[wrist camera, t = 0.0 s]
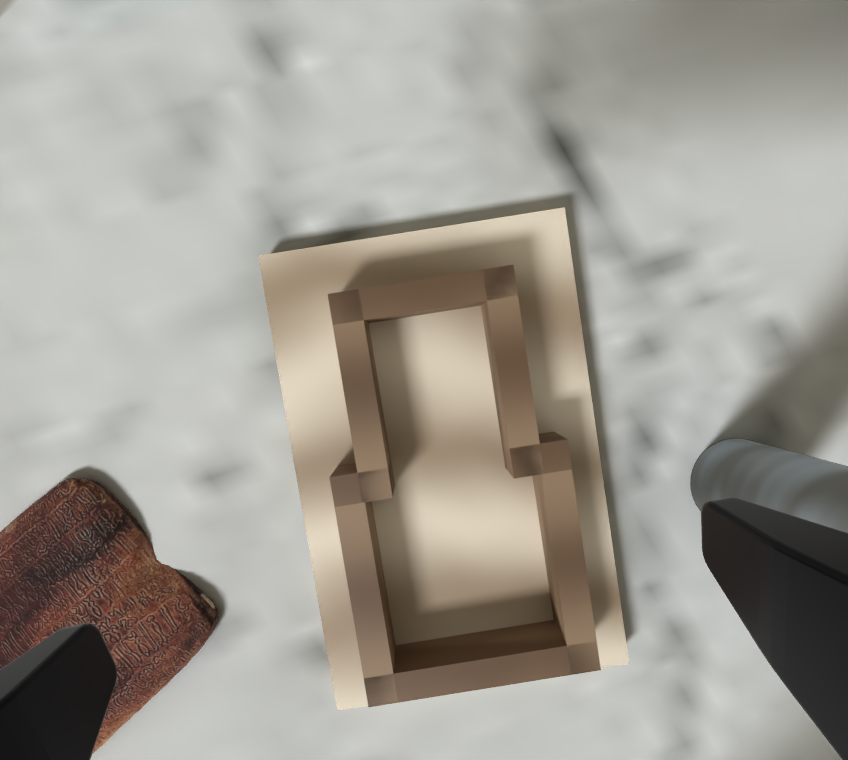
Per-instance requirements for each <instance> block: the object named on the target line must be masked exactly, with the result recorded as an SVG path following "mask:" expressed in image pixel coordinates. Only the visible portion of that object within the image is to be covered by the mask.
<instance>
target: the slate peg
mask: <svg viewBox="0 0 848 760" xmlns="http://www.w3.org/2000/svg"><path fill="white" fill-rule="evenodd" d="M691 492H692V496H693V499H694V501H695V503H696V505H697V507H698V508H699V510H700V511H701V510H702V506H703V504H704V503H705V502H707V501H711V500H716V499H721V498H726V497H736V498H739V499H742V500H745V501H748V502H752V503H755V504H758V505H761V506H764V507H767V508H770V509H774V510H777V511H780V512H783V513H786V514H789V515H793V516H796V517H799V518H802V519H805V520H808V521H811V522H815V523H818V524H821V525H824V526H827V527H830V528H834V529H837V530H840V531H843V532H846V533H848V466H845V465H841V464H837V463H833V462H830V461H826V460H822V459H818V458H815V457H811V456H807V455H803V454H799V453H796V452H792V451H788V450H784V449H780V448H777V447H773V446H769V445H765V444H761V443H758V442H754V441H750V440H746V439H740V438H732V439H726V440H722V441H719V442H717V443H715V444H713V445H712V446H710V447H709V448H707V449H706V450H705V451H704V452H703V453H702V454H701V455H700V457H699V458H698V460H697V461H696V463H695V465H694V468H693V470H692V474H691Z"/></svg>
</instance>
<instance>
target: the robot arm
mask: <svg viewBox="0 0 848 760" xmlns="http://www.w3.org/2000/svg"><path fill="white" fill-rule="evenodd" d="M701 525H702V552H703V556H704V559H705V562H706V564H707V566H708V568H709V569H710V571H711V572H712V574H713V576H714V577H715V579H716V580H717V582H718V584H719V585H720V587H721V588H722V590H723V592H724V593H725V595H726V596H727V598H728V599H729V601H730V603H731V604H732V606H733V607H734V609H735V611H736V612H737V614H738V615H739V617H740V619H741V620H742V622H743V623H744V625H745V626H746V628H747V630H748V631H749V633H750V634H751V636H752V638H753V639H754V641H755V642H756V644H757V646H758V647H759V649H760V650H761V652H762V653H763V655H764V656H765V658H766V659H767V661H768V662H769V664H770V665H771V666H772V668H773V669H774V671H775V672H776V673H777V675H778V676H779V677H780V679H781V680H782V681H783V683H784V684H785V685H786V687H787V688H788V689H789V691H790V692H791V693H792V694H793V696H794V697H795V698H796V700H797V701H798V702H799V704H800V705H801V706H802V707H803V709H804V710H805V711H806V713H807V714H808V715H809V717H810V718H811V719H812V720H813V722H814V723H815V724H816V726H817V727H818V728H819V730H820V731H821V732H822V733H823V735H824V736H825V737H826V739H827V740H828V741H829V743H830V744H831V745H832V746H833V748H834V749H835V750H836V752H837V753H838V754H839V756H840V757H841V758H842V759H843V760H848V533H846V532H843V531H840V530H837V529H834V528H830V527H827V526H824V525H821V524H818V523H815V522H811V521H808V520H805V519H802V518H799V517H796V516H793V515H789V514H786V513H783V512H780V511H777V510H774V509H770V508H767V507H764V506H761V505H758V504H755V503H752V502H748V501H745V500H742V499H739V498H736V497H726V498H721V499H716V500H711V501H707V502H705V503H704V504H703V506H702V510H701ZM116 679H117V668H116V664H115V661H114V659H113V657H112V655H111V653H110V651H109V649H108V647H107V644H106V642H105V640H104V638H103V636H102V634H101V632H100V630H99V628H98V627H97V626H96V625H94V624H92V623H84V624H79V625H74V626H69V627H64V628H62V629H60V630H58V631H56V632H55V633H53V634H52V635H51V636H49V637H48V638H46V639H45V640H43V641H42V642H40V643H39V644H37V645H36V646H34V647H33V648H31V649H30V650H28V651H27V652H26V653H24V654H23V655H21V656H20V657H18V658H17V659H15V660H14V661H12V662H11V663H9V664H8V665H6V666H5V667H3V668H2V669H0V760H90V758H91V755H92V753H93V750H94V747H95V744H96V741H97V738H98V735H99V732H100V729H101V726H102V723H103V720H104V717H105V714H106V711H107V708H108V705H109V702H110V699H111V696H112V693H113V690H114V687H115V684H116Z"/></svg>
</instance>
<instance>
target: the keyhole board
mask: <svg viewBox="0 0 848 760" xmlns="http://www.w3.org/2000/svg"><path fill="white" fill-rule="evenodd" d="M258 257H259V263H260V268H261V274H262V280H263V286H264V291H265V297H266V303H267V309H268V315H269V320H270V326H271V332H272V338H273V343H274V349H275V355H276V361H277V366H278V372H279V378H280V384H281V389H282V395H283V401H284V407H285V413H286V418H287V424H288V430H289V436H290V441H291V447H292V453H293V459H294V464H295V470H296V476H297V482H298V487H299V493H300V499H301V505H302V510H303V516H304V522H305V528H306V534H307V539H308V545H309V551H310V557H311V562H312V568H313V574H314V580H315V585H316V591H317V597H318V603H319V608H320V614H321V620H322V626H323V632H324V637H325V643H326V649H327V655H328V660H329V666H330V672H331V678H332V683H333V689H334V695H335V701H336V706H337V711H338V710H344V709H350V708H356V707H363V706H368V707H373V706H379V705H385V704H392V703H398V702H404V701H410V700H417V699H423V698H429V697H435V696H441V695H448V694H454V693H460V692H466V691H473V690H479V689H485V688H491V687H497V686H504V685H510V684H516V683H522V682H529V681H535V680H541V679H547V678H554V677H560V676H566V675H572V674H578V673H585V672H591V671H597V670H601V668H606V667H612V666H618V665H624V664H629V659H628V652H627V645H626V637H625V630H624V623H623V616H622V609H621V602H620V595H619V588H618V581H617V574H616V567H615V560H614V552H613V545H612V538H611V531H610V524H609V517H608V510H607V503H606V496H605V489H604V482H603V475H602V468H601V460H600V453H599V446H598V439H597V432H596V425H595V418H594V411H593V404H592V397H591V390H590V383H589V375H588V368H587V361H586V354H585V347H584V340H583V333H582V326H581V319H580V312H579V305H578V298H577V290H576V283H575V276H574V269H573V262H572V255H571V248H570V241H569V234H568V227H567V220H566V213H565V207H563V208H557V209H551V210H544V211H538V212H532V213H525V214H519V215H513V216H506V217H500V218H494V219H487V220H481V221H474V222H468V223H462V224H455V225H449V226H443V227H436V228H430V229H424V230H417V231H411V232H405V233H398V234H392V235H386V236H379V237H373V238H367V239H360V240H354V241H348V242H341V243H335V244H329V245H322V246H316V247H310V248H303V249H297V250H291V251H284V252H278V253H272V254H265V255H259V256H258Z"/></svg>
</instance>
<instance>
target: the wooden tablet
mask: <svg viewBox="0 0 848 760" xmlns="http://www.w3.org/2000/svg"><path fill="white" fill-rule="evenodd" d="M217 621H218V613H217V609H216V607H215V605H214V604H213V602H212V600H210V599H209V598H208V597H207V596H206V595H204V593H203V592H202V591H201V590H200V589H199V588H198V587H196V586H195V585H194V584H193V583H192V582H191V581H190V580H188V579H187V578H186V577H184V576H183V575H181V574H180V573H179V572H178V571H177V570H175V569H172V568H171V567H170V566H168V565H165V564H161V563H160V562H159V561H158V560H157V559H156V556H155V553H154V551H153V548H152V545H151V543H150V541H149V539H148V537H147V536H146V534H145V532H144V530H143V529H142V528H141V526H140V525H139V524H138V523H137V520H136V519H135V518H134V517H133V516H132V515H131V513H130V512H129V511H128V509H126V508H125V507H124V505H122V504H121V503H120V502H119V501H118V499H117V498H116V497H115V496H114V495H113V494H112V493H109V492H108V491H107V490H106V489H105V488H103V487H102V486H101V485H100V484H99V483H97V482H95V481H93V480H88V479H79V478H72V479H69V480H66V481H64V482H61V483H59V484H58V485H57V486H56V487H54V488H53V489H52V490H50V491H49V492H48V493H47V494H46V495H44V496H43V497H42V498H40V499H39V500H38V501H37V502H36V503H35V504H33V505H32V506H31V507H29V508H28V509H27V510H25V511H24V512H23V513H22V514H20V515H19V516H18V517H17V518H16V519H15V520H13V521H12V522H11V523H10V524H9V525H8V526H6V527H5V528H4V529H3V530H2V531H1V532H0V669H2V668H3V667H5V666H6V665H8V664H9V663H11V662H12V661H14V660H15V659H17V658H18V657H20V656H21V655H23V654H24V653H26V652H27V651H28V650H30V649H31V648H33V647H34V646H36V645H37V644H39V643H40V642H42V641H43V640H45V639H46V638H48V637H49V636H51V635H52V634H53V633H55V632H56V631H58V630H60V629H62V628H64V627H69V626H74V625H79V624H84V623H92V624H94V625H96V626H97V627H98V628H99V630H100V632H101V634H102V636H103V638H104V640H105V642H106V644H107V647H108V649H109V651H110V653H111V655H112V657H113V659H114V661H115V664H116V668H117V679H116V684H115V687H114V690H113V693H112V696H111V699H110V702H109V705H108V708H107V711H106V714H105V717H104V720H103V723H102V726H101V729H100V732H99V735H98V738H97V741H96V744H95V747H94V750H93V753H94V752H95V751H96V750H97V749H98V748H99V747H101V746H102V745H103V744H104V743H105V742H106V741H107V740H108V739H109V738H110V737H111V736H112V735H113V734H114V733H115V732H116V731H117V730H118V729H119V728H120V727H121V726H122V725H123V724H124V723H126V722H127V721H128V720H129V719H130V718H131V717H132V716H133V715H134V714H135V713H136V712H138V711H139V710H140V709H141V708H142V707H143V706H144V705H145V704H146V703H147V702H148V701H149V700H150V699H151V698H152V697H153V696H154V695H156V694H157V693H158V692H159V691H160V690H161V689H162V688H163V687H164V686H166V685H167V684H168V682H169V681H170V680H171V679H172V678H173V677H174V676H175V675H176V674H177V673H178V672H180V670H181V669H182V668H183V667H185V666H186V665H187V663H188V662H189V661H190V660H191V658H192V657H193V656H194V655H195V654H196V653H197V652H198V651H199V650H200V649H201V647H202V646H203V645H204V643H205V642H206V640H207V639H208V637H209V636H210V634H211V633H212V631H213V630H214V627H215V625H216V623H217ZM93 753H92V754H93Z"/></svg>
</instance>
